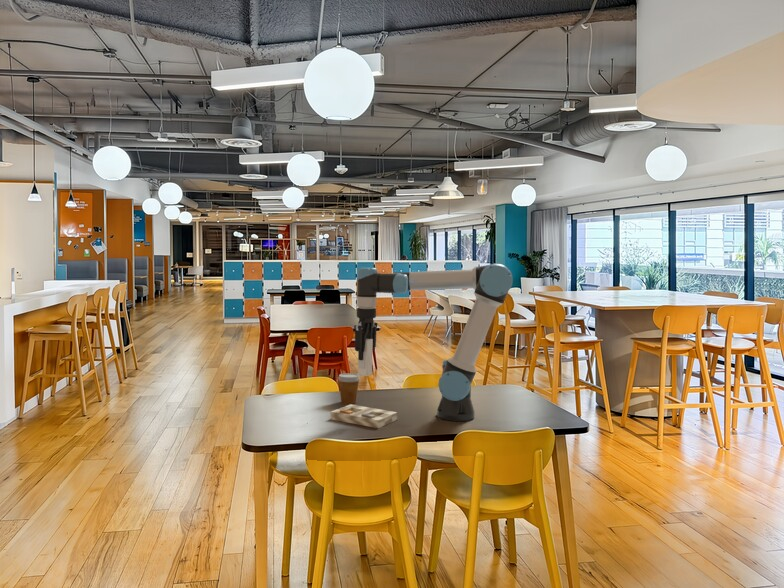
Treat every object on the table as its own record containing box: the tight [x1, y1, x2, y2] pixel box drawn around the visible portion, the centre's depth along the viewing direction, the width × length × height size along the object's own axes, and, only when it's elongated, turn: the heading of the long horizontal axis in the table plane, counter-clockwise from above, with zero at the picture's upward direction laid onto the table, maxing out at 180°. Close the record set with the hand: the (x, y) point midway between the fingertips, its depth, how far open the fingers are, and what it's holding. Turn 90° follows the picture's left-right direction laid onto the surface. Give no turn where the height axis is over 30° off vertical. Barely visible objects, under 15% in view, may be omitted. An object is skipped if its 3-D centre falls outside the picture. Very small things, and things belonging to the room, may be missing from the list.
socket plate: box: [330, 404, 398, 429], centre depth 242 cm, size 22×14×4 cm, turn 60°
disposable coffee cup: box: [337, 372, 361, 405], centre depth 269 cm, size 10×10×12 cm
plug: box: [357, 339, 373, 377], centre depth 241 cm, size 4×4×14 cm
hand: (365, 367), depth 241 cm, fingers closed on plug, 4 cm apart
